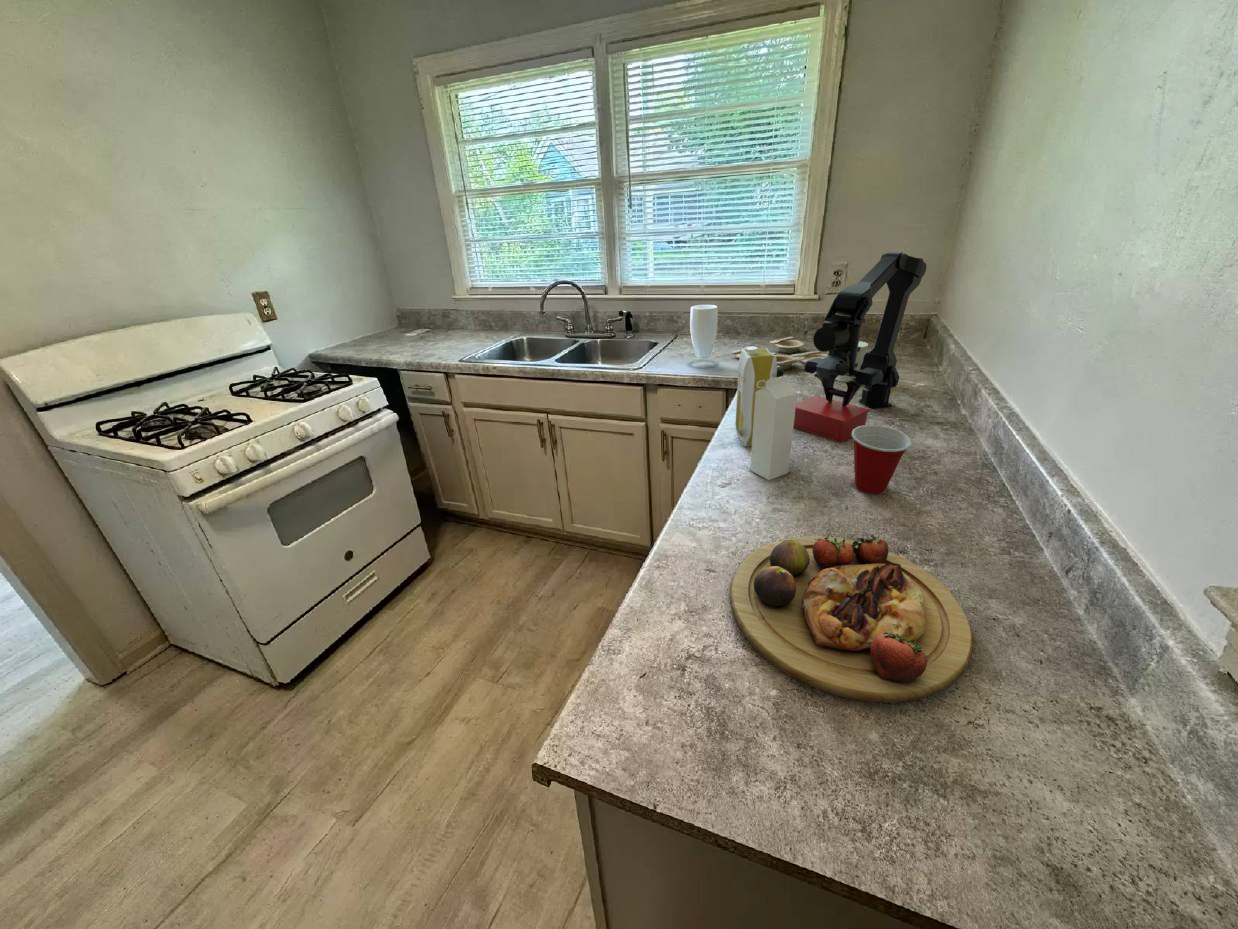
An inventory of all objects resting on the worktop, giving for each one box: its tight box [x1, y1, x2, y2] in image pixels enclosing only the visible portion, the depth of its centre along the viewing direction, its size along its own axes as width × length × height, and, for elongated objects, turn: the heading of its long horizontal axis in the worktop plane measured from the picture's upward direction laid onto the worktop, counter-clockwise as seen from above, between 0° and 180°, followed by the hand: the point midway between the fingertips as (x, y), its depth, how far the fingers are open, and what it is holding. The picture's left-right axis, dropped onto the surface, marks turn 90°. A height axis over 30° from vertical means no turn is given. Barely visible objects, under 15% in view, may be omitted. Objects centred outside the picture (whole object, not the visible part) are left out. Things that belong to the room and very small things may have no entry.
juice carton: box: [735, 346, 777, 447], centre depth 121 cm, size 9×8×24 cm
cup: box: [689, 304, 719, 359], centre depth 186 cm, size 10×10×22 cm
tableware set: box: [731, 336, 828, 370], centre depth 189 cm, size 35×29×4 cm
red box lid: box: [795, 387, 870, 424], centre depth 128 cm, size 11×16×5 cm
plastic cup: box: [851, 424, 913, 495], centre depth 100 cm, size 11×11×12 cm
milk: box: [749, 374, 798, 481], centre depth 106 cm, size 6×6×22 cm
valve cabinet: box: [793, 410, 868, 443], centre depth 130 cm, size 11×16×5 cm
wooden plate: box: [729, 533, 974, 704], centre depth 71 cm, size 32×32×8 cm
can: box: [835, 340, 869, 383], centre depth 163 cm, size 9×9×12 cm
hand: (837, 402), depth 130 cm, fingers closed on red box lid, 5 cm apart
